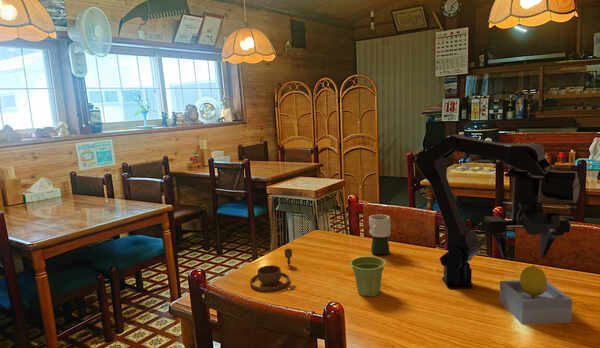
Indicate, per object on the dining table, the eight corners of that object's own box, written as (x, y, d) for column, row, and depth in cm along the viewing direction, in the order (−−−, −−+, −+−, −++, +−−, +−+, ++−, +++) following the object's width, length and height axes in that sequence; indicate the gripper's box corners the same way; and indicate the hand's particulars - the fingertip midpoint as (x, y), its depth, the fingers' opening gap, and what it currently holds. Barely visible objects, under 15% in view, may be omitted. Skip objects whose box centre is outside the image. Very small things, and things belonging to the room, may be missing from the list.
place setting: (237, 282, 126) (236, 264, 125) (289, 264, 138) (287, 247, 137) (270, 300, 112) (268, 280, 111) (323, 278, 124) (322, 260, 124)
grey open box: (521, 326, 93) (522, 301, 92) (499, 303, 103) (500, 280, 103) (571, 324, 92) (572, 299, 91) (543, 301, 103) (544, 278, 102)
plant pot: (365, 303, 106) (364, 271, 105) (345, 290, 115) (343, 260, 113) (393, 294, 111) (392, 263, 109) (371, 282, 119) (370, 253, 118)
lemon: (549, 303, 94) (550, 270, 93) (523, 302, 96) (523, 269, 94) (543, 292, 99) (543, 261, 98) (517, 291, 101) (517, 260, 99)
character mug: (376, 246, 148) (375, 212, 146) (395, 249, 144) (394, 214, 142) (364, 256, 139) (363, 220, 137) (384, 259, 135) (383, 222, 133)
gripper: (498, 205, 91) (496, 270, 94) (587, 203, 89) (582, 270, 92) (481, 194, 102) (479, 253, 105) (560, 192, 100) (556, 252, 103)
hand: (523, 257), depth 101 cm, fingers open, 9 cm apart
